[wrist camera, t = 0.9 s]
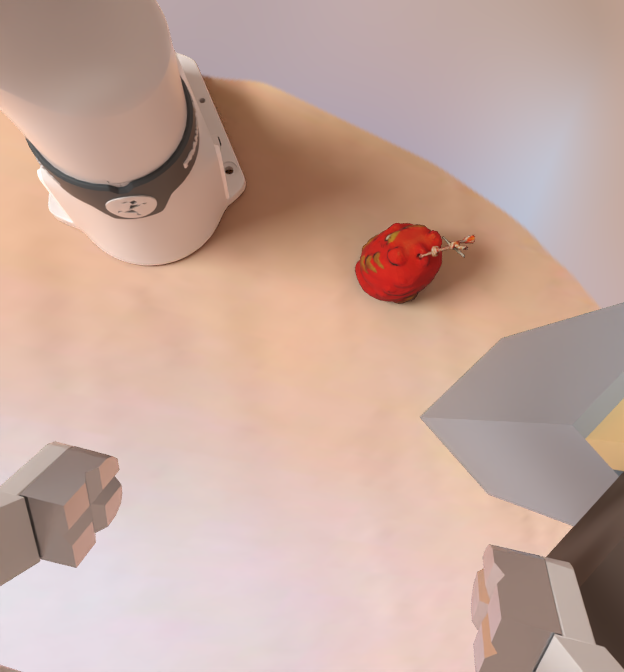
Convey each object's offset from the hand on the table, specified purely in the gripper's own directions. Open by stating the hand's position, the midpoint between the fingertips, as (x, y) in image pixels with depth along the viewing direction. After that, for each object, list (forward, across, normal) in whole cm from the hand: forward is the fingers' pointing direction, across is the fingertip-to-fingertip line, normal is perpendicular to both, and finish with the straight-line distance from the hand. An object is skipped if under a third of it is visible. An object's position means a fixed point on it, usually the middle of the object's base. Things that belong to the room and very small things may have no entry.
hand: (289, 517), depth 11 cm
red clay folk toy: (+41, 0, +9) cm, 42 cm away
